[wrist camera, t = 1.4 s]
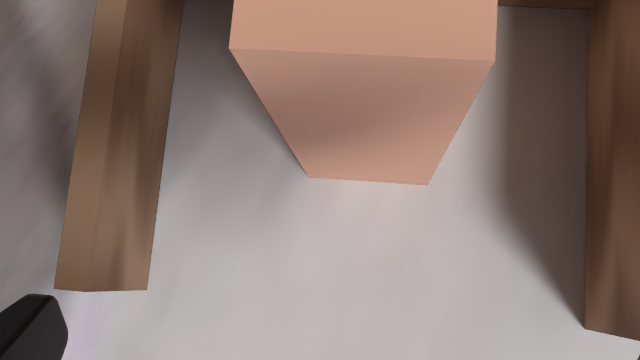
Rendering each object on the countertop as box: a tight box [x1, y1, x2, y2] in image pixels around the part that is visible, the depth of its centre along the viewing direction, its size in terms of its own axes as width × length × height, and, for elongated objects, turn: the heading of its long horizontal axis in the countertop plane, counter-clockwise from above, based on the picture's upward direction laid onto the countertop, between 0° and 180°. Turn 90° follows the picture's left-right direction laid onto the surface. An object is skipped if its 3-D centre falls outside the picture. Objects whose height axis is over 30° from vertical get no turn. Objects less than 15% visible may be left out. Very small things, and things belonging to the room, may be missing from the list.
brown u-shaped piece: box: [54, 0, 640, 341], centre depth 21 cm, size 13×18×5 cm
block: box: [229, 0, 498, 185], centre depth 17 cm, size 4×4×13 cm
